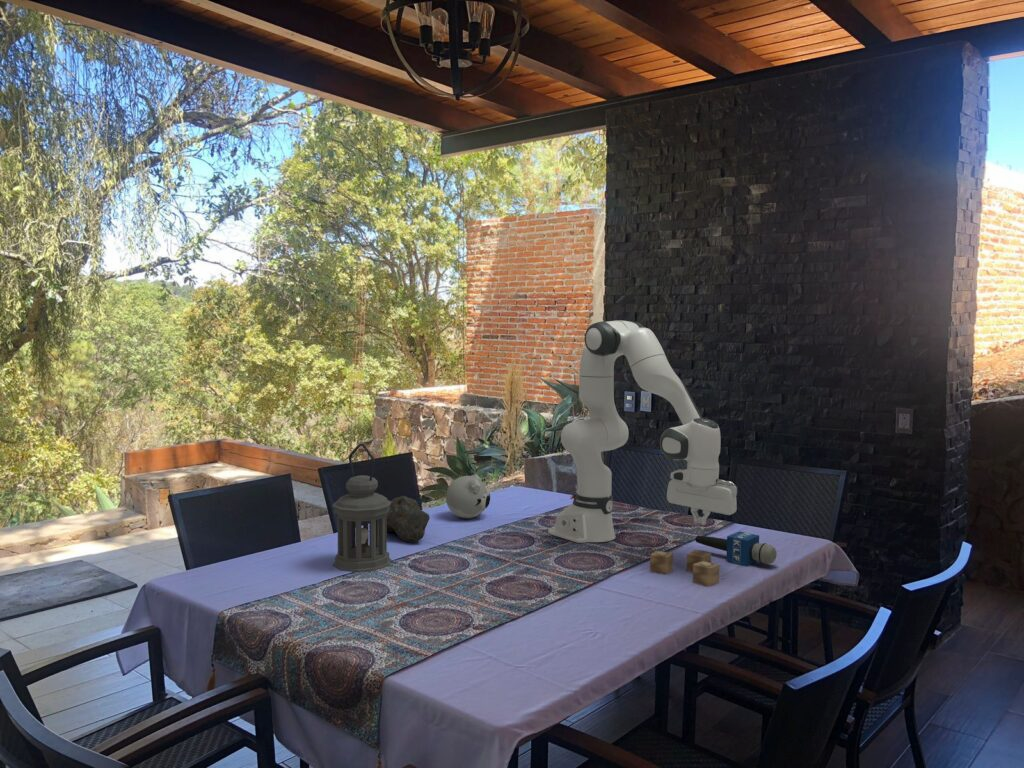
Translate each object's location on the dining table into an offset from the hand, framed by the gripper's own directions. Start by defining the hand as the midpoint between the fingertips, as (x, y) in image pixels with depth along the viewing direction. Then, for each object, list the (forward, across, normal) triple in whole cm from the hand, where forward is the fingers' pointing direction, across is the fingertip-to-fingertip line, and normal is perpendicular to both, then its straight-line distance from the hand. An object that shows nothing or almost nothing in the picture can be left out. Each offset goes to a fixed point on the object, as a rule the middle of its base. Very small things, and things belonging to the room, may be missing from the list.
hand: (699, 523), depth 229 cm
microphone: (+13, -4, -15) cm, 21 cm away
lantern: (+15, +76, +59) cm, 98 cm away
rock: (+16, +90, +31) cm, 97 cm away
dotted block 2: (+13, -7, +10) cm, 18 cm away
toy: (+16, +89, 0) cm, 90 cm away
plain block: (+13, -1, +2) cm, 13 cm away
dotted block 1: (+13, +7, +9) cm, 17 cm away
